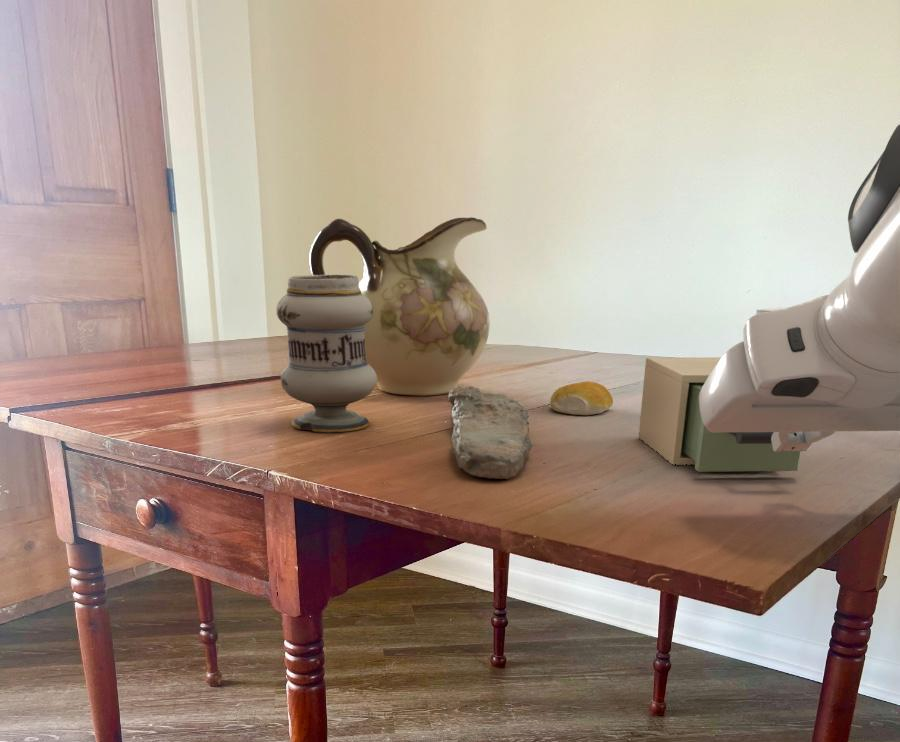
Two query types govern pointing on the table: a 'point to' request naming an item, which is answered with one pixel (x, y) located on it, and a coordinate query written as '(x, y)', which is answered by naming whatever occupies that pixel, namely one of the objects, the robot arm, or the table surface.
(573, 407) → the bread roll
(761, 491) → the table surface
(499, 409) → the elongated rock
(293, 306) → the apothecary jar
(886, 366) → the robot arm
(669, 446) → the cabinet
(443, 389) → the pitcher
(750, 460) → the drawer
